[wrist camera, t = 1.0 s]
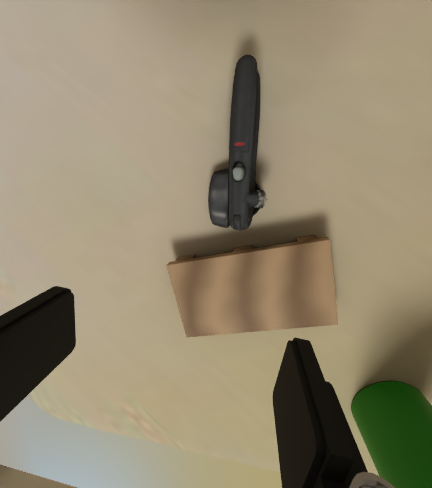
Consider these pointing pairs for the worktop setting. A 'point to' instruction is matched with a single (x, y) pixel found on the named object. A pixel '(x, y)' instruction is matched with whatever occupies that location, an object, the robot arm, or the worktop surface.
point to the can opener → (240, 155)
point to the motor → (396, 432)
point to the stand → (256, 288)
